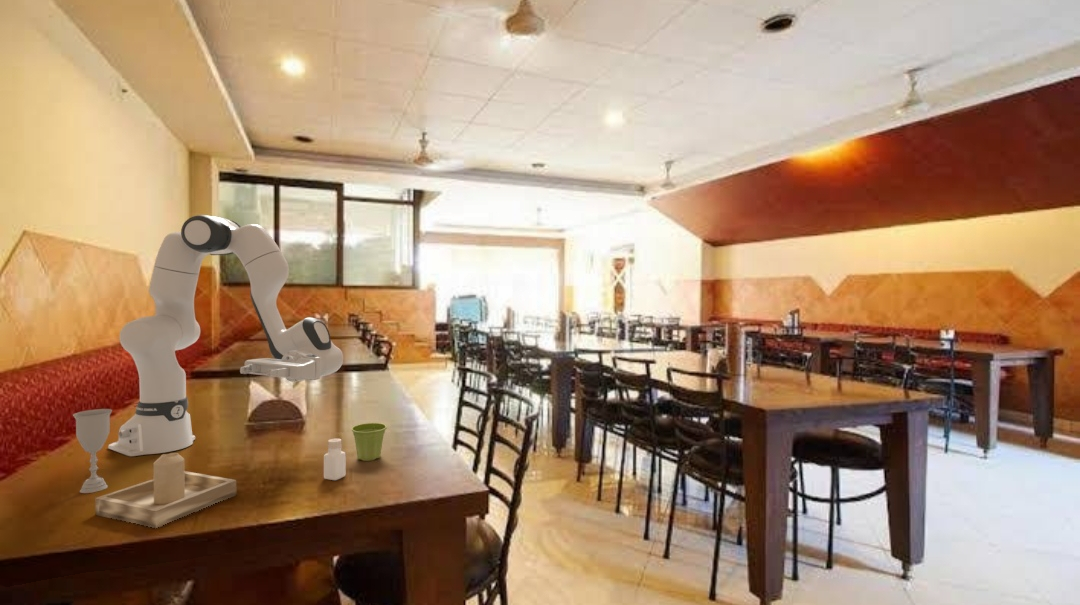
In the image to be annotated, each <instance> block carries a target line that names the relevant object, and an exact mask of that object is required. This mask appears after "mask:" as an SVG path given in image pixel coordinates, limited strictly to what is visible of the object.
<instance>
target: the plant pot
mask: <svg viewBox="0 0 1080 605" xmlns="http://www.w3.org/2000/svg"><path fill="white" fill-rule="evenodd" d="M387 428H388V427H387V425H386V424H385V423H381V422H380V423H379V422H367V423H360V424H357V425H354V426H352V427H351V431H352V434H353V436H354V443H355V449H356V456H357V460H361V461H363V462H369V461H371V462H372V461H375V460H376V459H380V458H381V455H382V449H383V448H382V447H383V441H384V435H385V432H386V430H387Z"/></svg>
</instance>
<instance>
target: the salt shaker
mask: <svg viewBox="0 0 1080 605" xmlns="http://www.w3.org/2000/svg"><path fill="white" fill-rule="evenodd" d="M342 441H343V440H342V439H341V438H330V439H328V440H327V450H328V451H327V452H326V453H325V454H324V455H323V478H324V480H330V481H331V480H332V481H338V480H340V479H342V478H344V477H345V476H346V474H347V472H346V470H347V464H346V463H347V461H346V460H347V459H346V458H347V456H346V455H347V454H346V452H345V451H342V447H343V446H342Z"/></svg>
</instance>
